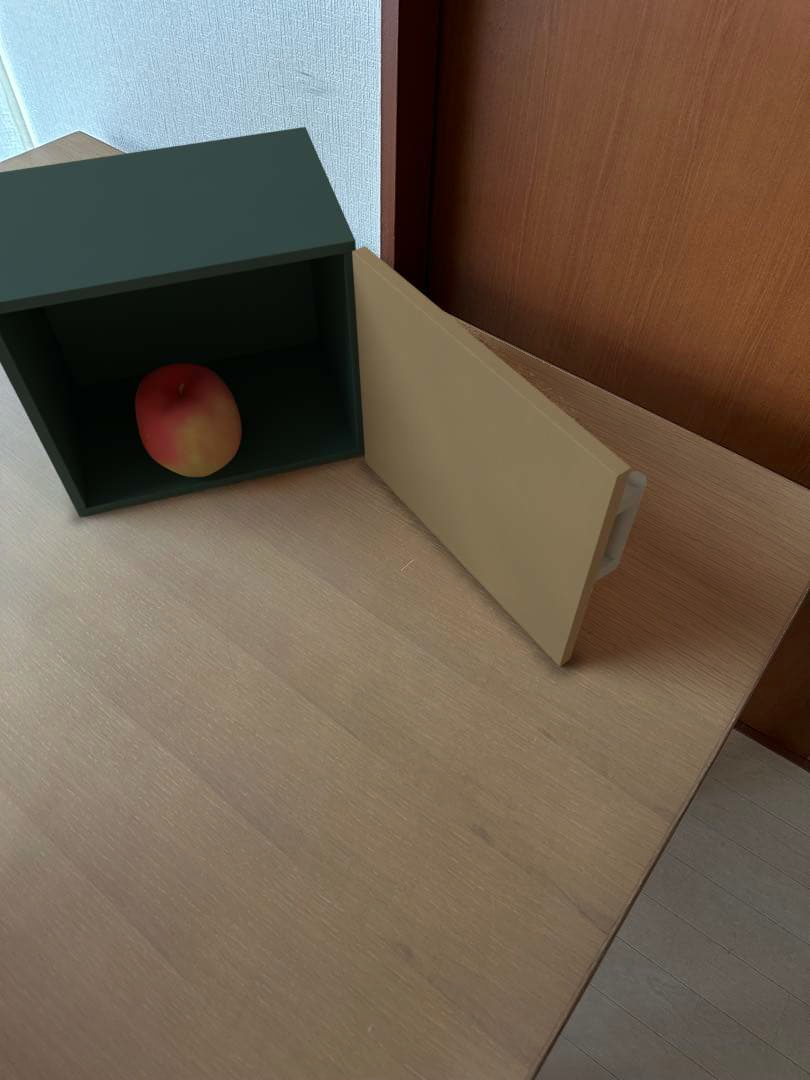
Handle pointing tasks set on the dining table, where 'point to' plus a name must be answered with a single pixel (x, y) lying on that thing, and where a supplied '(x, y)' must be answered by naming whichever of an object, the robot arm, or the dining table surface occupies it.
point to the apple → (188, 419)
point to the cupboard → (180, 307)
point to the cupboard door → (488, 460)
